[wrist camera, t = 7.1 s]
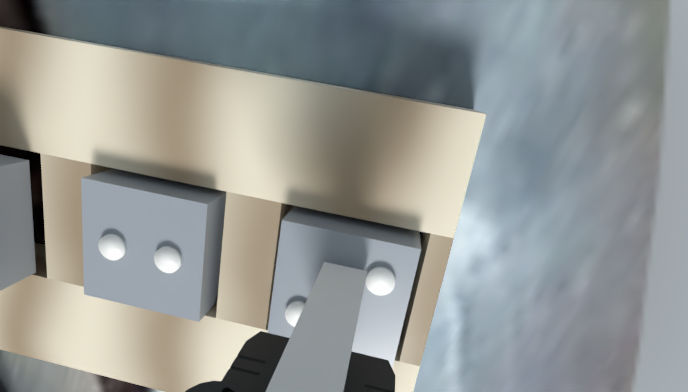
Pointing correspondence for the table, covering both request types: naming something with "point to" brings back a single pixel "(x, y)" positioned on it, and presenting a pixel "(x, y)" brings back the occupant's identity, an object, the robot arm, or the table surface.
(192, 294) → the key
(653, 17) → the table surface
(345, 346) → the robot arm
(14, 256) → the key
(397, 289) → the key
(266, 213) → the board
